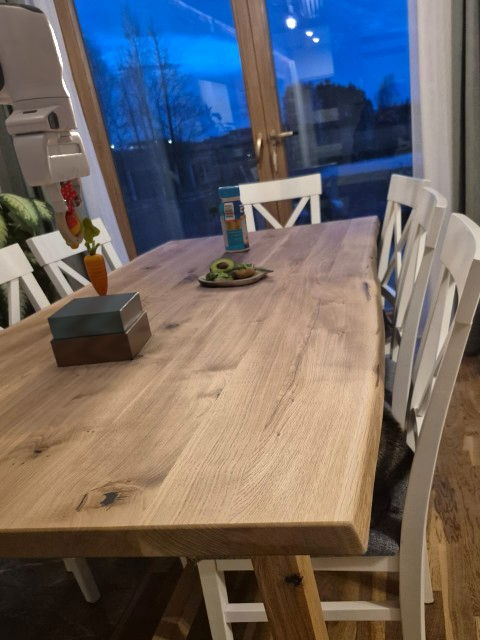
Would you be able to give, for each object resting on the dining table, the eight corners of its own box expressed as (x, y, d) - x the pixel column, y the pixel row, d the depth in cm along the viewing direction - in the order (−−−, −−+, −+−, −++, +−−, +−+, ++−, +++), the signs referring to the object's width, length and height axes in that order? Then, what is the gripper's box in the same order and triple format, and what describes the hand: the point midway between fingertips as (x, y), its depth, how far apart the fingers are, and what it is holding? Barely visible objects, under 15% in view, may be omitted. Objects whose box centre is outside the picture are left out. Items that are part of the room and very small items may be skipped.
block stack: (57, 367, 105) (43, 319, 101) (84, 341, 117) (72, 298, 114) (133, 359, 104) (121, 311, 100) (151, 334, 117) (141, 290, 113)
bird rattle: (96, 259, 102) (104, 230, 108) (72, 201, 93) (82, 174, 99) (61, 262, 102) (71, 234, 108) (34, 205, 93) (46, 178, 99)
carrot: (105, 295, 153) (91, 237, 146) (117, 296, 150) (103, 237, 144) (90, 300, 149) (74, 241, 143) (101, 302, 146) (86, 242, 140)
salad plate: (285, 270, 158) (283, 253, 156) (258, 287, 143) (256, 269, 141) (223, 271, 165) (220, 255, 163) (191, 288, 150) (187, 270, 148)
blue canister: (220, 252, 193) (210, 188, 184) (240, 247, 198) (231, 185, 189) (235, 254, 187) (225, 188, 179) (255, 248, 192) (247, 185, 184)
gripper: (53, 123, 104) (73, 204, 109) (-2, 122, 85) (27, 219, 91) (87, 119, 103) (106, 200, 109) (40, 117, 85) (66, 215, 91)
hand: (70, 209), depth 100 cm, fingers closed on bird rattle, 6 cm apart
